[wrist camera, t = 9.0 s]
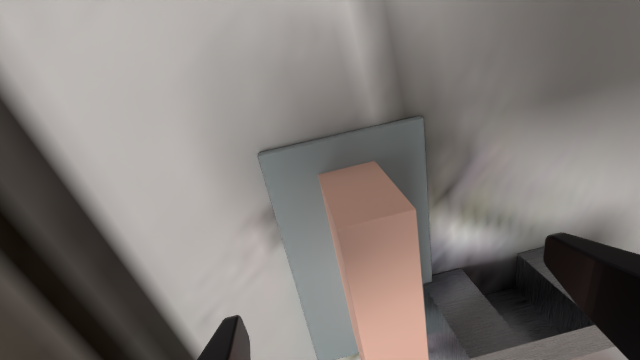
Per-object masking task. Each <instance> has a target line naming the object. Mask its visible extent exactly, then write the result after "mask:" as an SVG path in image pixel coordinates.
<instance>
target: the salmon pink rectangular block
mask: <svg viewBox="0 0 640 360" xmlns="http://www.w3.org/2000/svg"><path fill="white" fill-rule="evenodd" d="M318 177H319V181H320V186H321V190H322V195H323V199H324V204H325V208H326V213H327V217H328V221H329V226H330V230H331V235H332V239H333V244H334V248H335V252H336V257H337V261H338V266H339V270H340V275H341V279H342V284H343V288H344V292H345V297H346V301H347V306H348V310H349V315H350V319H351V323H352V328H353V332H354V336H355V340H356V343H357V347H358V350H359V354H360V358H361V360H429V358H428V347H427V335H426V323H425V311H424V299H423V288H422V276H421V264H420V252H419V240H418V229H417V217H416V209H415V208H414V206H413V205H412V204H411V203H410V202H409V201H408V199H407V198H406V197H405V196H404V195H403V194H402V192H401V191H400V190H399V189H398V188H397V187H396V185H395V184H394V183H393V182H392V181H391V180H390V178H389V177H388V176H387V175H386V174H385V172H384V171H383V170H382V169H381V168H380V167H379V165H378V164H377V163H376V162H375V161H372V162H367V163H363V164H359V165H355V166H351V167H347V168H343V169H339V170H335V171H331V172H327V173H323V174H319V175H318Z"/></svg>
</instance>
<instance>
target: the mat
mask: <svg viewBox="0 0 640 360" xmlns="http://www.w3.org/2000/svg"><path fill="white" fill-rule="evenodd" d="M258 159H259V163H260V166H261V170H262V173H263V176H264V180H265V183H266V186H267V190H268V193H269V197H270V200H271V203H272V207H273V210H274V214H275V217H276V220H277V224H278V227H279V231H280V234H281V237H282V241H283V244H284V248H285V251H286V254H287V258H288V261H289V265H290V268H291V271H292V275H293V278H294V282H295V285H296V288H297V292H298V295H299V299H300V302H301V305H302V309H303V312H304V316H305V319H306V322H307V326H308V329H309V333H310V336H311V339H312V343H313V346H314V350H315V353H316V356H317V360H335V359H339V358H343V357H347V356H350V355H354V354H358V353H359V350H358V347H357V343H356V340H355V336H354V332H353V328H352V323H351V319H350V315H349V310H348V306H347V301H346V297H345V292H344V288H343V284H342V279H341V275H340V270H339V266H338V261H337V257H336V252H335V248H334V244H333V239H332V235H331V230H330V226H329V221H328V217H327V213H326V208H325V204H324V199H323V195H322V190H321V186H320V181H319V177H318V175H319V174H323V173H327V172H331V171H335V170H339V169H343V168H347V167H351V166H355V165H359V164H363V163H367V162H372V161H375V162H376V163H377V164H378V165H379V167H380V168H381V169H382V170H383V171H384V172H385V174H386V175H387V176H388V177H389V178H390V180H391V181H392V182H393V183H394V184H395V185H396V187H397V188H398V189H399V190H400V191H401V192H402V194H403V195H404V196H405V197H406V198H407V199H408V201H409V202H410V203H411V204H412V205H413V206H414V208H415V209H416V217H417V229H418V240H419V252H420V264H421V276H422V288H423V284H425V283H429V282H432V269H431V250H430V232H429V213H428V194H427V175H426V157H425V138H424V119H423V118H422V117H420V116H417V117H413V118H408V119H404V120H400V121H395V122H391V123H387V124H382V125H378V126H374V127H369V128H365V129H361V130H356V131H352V132H347V133H343V134H339V135H334V136H330V137H326V138H321V139H317V140H313V141H308V142H304V143H300V144H295V145H291V146H287V147H282V148H278V149H274V150H269V151H265V152H260V153H258ZM423 299H424V288H423ZM424 311H425V303H424ZM425 323H426V317H425ZM426 335H427V331H426Z"/></svg>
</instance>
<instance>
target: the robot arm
mask: <svg viewBox="0 0 640 360" xmlns="http://www.w3.org/2000/svg"><path fill="white" fill-rule="evenodd" d="M543 261H544V263H545V265H546V267H547V268H548V269H549V271H550V272H551V273H552V274H553V276H554V277H555V278H556V279H557V281H558V282H559V283H560V284H561V286H562V287H563V288H564V289H565V291H566V292H567V293H568V294H569V296H570V297H571V298H572V299H573V301H574V302H575V303H576V304H577V306H578V307H579V308H580V309H581V310H582V311H583V313H584V314H585V315H586V316H587V317H588V318H589V319H590V320H591V321H592V322H593V323H594V324H595V325H596V327H597V328H598V329H599V330H600V331H601V332H602V333H603V334H604V335H605V336H606V337H607V338H608V339H609V340H610V341H611V342H612V343H613V344H614V345H615V346H616V347H617V349H618V350H619V351H620V352H621V353H622V354H623V355H624V356H625V357H626V358H627V359H628V360H640V255H639V254H636V253H632V252H629V251H625V250H622V249H618V248H615V247H611V246H608V245H604V244H601V243H598V242H594V241H591V240H587V239H584V238H580V237H577V236H573V235H570V234H567V233H556V234H552V235H549V236H547V238H546V240H545V246H544V254H543ZM197 360H250V340H249V336H248V333H247V330H246V328H245V326H244V323H243V321H242V318H241V317H240V316H239V315H235V316H231V317H227V318H225V319H224V320H223V321H222V323H221V324H220V326H219V327H218V329H217V330H216V332H215V333H214V335H213V336H212V338H211V339H210V341H209V343H208V344H207V346H206V347H205V349H204V350H203V352H202V353H201V355H200V356H199V358H198V359H197Z"/></svg>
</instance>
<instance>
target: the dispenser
mask: <svg viewBox="0 0 640 360" xmlns="http://www.w3.org/2000/svg"><path fill="white" fill-rule="evenodd" d="M543 254H544V247H542V248H538V249H534V250H530V251H527V252H523V253H519V254H518V257H517V268H516V279H515V288H511V289H507V290H503V291H499V292H495V293H492V294H488V295H483V294H482V293H481V292H480V290H479V289H478V288H477V287H476V286H475V284H474V283H473V282H472V281H471V280H470V278H469V277H468V276H467V275H466V274H465V272H464V271H463V270H462V269H461V268H460V269H456V270H452V271H449V272H445V273H441V274H437V275H433V276H432V282H429V283H425V284H423V288H424V303H425V317H426V331H427V347H428V358H429V360H628V359H627V358H626V357H625V356H624V355H623V354H622V353H621V352H620V351H619V350H618V349H617V347H616V346H615V345H614V344H613V343H612V342H611V341H610V340H609V339H608V338H607V337H606V336H605V335H604V334H603V333H602V332H601V331H600V330H599V329H598V328H597V327H596V325H595V324H594V323H593V322H592V321H591V320H590V319H589V318H588V317H587V316H586V315H585V314H584V313H583V311H582V310H581V309H580V308H579V307H578V306H577V304H576V303H575V302H574V301H573V299H572V298H571V297H570V296H569V294H568V293H567V292H566V291H565V289H564V288H563V287H562V286H561V284H560V283H559V282H558V281H557V279H556V278H555V277H554V276H553V274H552V273H551V272H550V271H549V269H548V268H547V267H546V265H545V263H544V261H543Z"/></svg>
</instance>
